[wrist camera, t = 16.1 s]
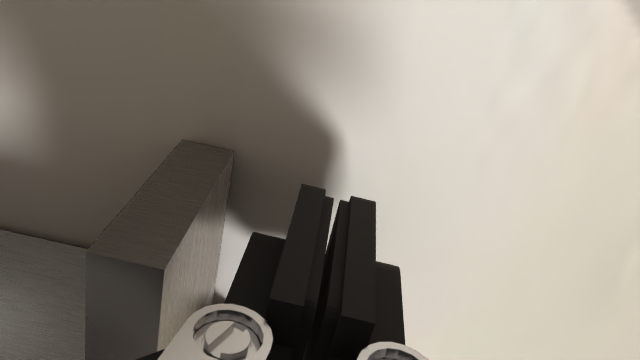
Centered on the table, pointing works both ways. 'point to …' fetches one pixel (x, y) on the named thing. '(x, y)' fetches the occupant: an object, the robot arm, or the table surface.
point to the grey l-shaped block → (121, 269)
